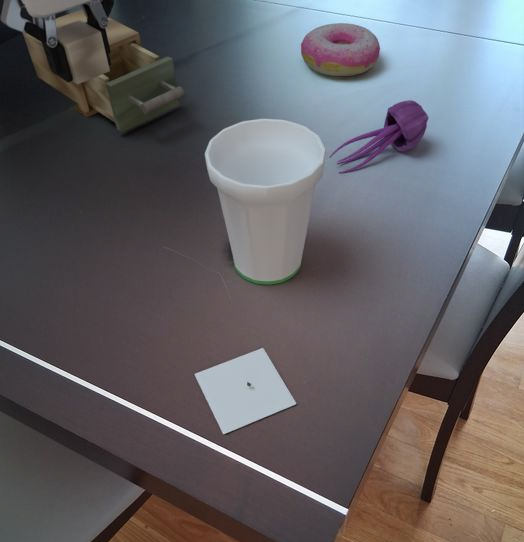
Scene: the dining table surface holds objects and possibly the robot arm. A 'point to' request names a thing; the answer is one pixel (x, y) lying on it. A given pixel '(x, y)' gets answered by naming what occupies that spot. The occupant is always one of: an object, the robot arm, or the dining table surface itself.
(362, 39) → the donut
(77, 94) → the cabinet
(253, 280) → the cup
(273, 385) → the coaster
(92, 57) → the block
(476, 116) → the dining table surface
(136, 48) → the drawer
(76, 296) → the dining table surface
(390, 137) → the jellyfish
